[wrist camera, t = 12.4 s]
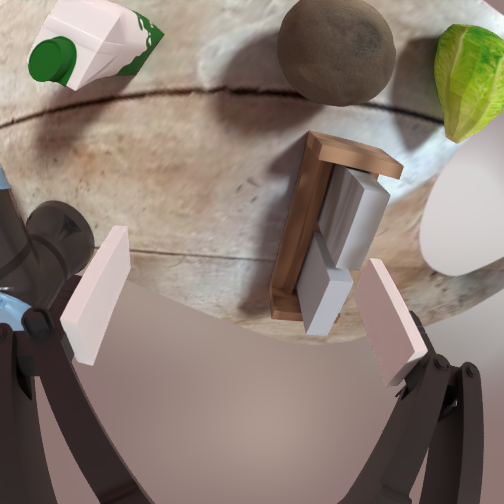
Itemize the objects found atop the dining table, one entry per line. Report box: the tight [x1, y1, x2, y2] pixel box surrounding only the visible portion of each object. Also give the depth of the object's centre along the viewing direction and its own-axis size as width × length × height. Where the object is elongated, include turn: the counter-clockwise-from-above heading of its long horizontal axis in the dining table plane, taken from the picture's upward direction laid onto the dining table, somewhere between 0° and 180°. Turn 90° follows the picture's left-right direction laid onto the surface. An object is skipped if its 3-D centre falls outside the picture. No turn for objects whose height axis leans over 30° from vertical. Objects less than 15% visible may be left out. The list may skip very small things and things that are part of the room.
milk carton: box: [25, 0, 164, 91], centre depth 24 cm, size 9×9×20 cm
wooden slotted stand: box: [269, 131, 404, 323], centre depth 44 cm, size 12×30×14 cm, turn 170°
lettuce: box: [434, 24, 504, 144], centre depth 30 cm, size 14×20×12 cm
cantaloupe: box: [277, 0, 396, 107], centre depth 28 cm, size 14×14×15 cm
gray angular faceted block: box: [296, 232, 354, 336], centre depth 47 cm, size 4×11×12 cm, turn 170°
